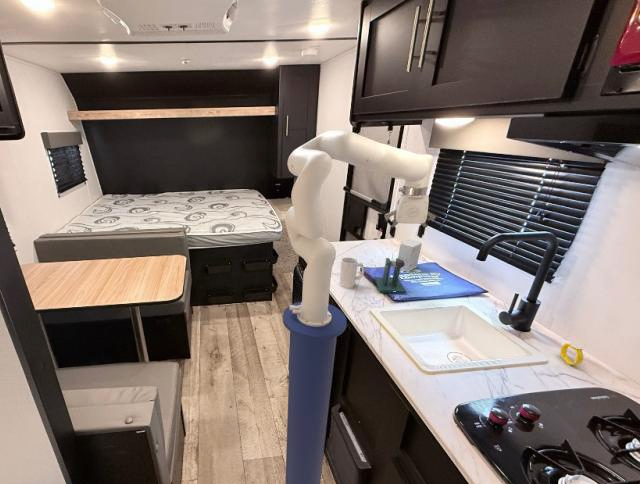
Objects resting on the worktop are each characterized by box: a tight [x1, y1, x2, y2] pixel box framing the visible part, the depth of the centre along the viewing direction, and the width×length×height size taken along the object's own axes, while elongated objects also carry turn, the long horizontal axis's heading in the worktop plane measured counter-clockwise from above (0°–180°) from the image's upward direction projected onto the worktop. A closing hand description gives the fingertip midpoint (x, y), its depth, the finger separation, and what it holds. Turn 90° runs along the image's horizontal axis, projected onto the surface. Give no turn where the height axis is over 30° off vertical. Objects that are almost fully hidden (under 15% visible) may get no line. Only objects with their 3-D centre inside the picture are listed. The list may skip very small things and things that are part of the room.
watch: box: [560, 342, 584, 366], centre depth 91 cm, size 6×3×6 cm, turn 169°
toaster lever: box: [390, 260, 405, 268], centre depth 127 cm, size 12×3×3 cm, turn 169°
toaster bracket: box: [373, 257, 406, 295], centre depth 134 cm, size 12×10×13 cm
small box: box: [397, 239, 423, 273], centre depth 150 cm, size 8×6×13 cm
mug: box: [339, 256, 365, 289], centre depth 137 cm, size 10×7×12 cm, turn 82°
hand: (405, 236), depth 118 cm, fingers open, 9 cm apart
